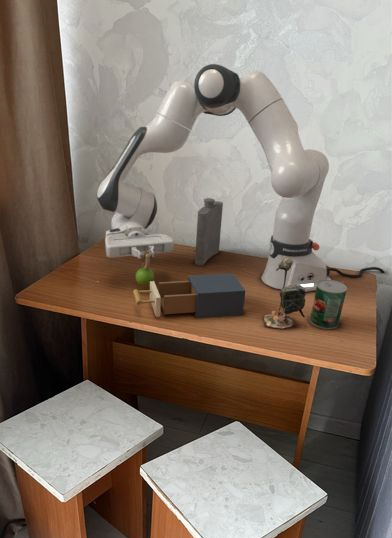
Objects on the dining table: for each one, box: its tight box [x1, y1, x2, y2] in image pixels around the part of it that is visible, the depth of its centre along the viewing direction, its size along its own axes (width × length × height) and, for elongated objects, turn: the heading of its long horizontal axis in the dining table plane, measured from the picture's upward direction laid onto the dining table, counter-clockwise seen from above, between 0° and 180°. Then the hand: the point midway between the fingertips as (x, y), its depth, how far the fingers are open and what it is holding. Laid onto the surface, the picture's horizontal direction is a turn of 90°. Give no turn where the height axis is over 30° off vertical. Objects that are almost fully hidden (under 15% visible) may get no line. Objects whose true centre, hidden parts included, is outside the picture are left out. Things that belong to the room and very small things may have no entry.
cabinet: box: [187, 273, 246, 319], centre depth 139 cm, size 13×11×7 cm
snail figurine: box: [135, 250, 155, 287], centre depth 143 cm, size 5×6×12 cm
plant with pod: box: [262, 256, 306, 330], centre depth 130 cm, size 8×11×20 cm
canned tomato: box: [309, 279, 348, 330], centre depth 134 cm, size 8×8×11 cm
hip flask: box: [194, 197, 224, 266], centre depth 167 cm, size 16×4×20 cm, turn 155°
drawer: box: [132, 280, 197, 318], centre depth 136 cm, size 17×10×6 cm, turn 104°
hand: (146, 255), depth 140 cm, fingers closed on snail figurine
